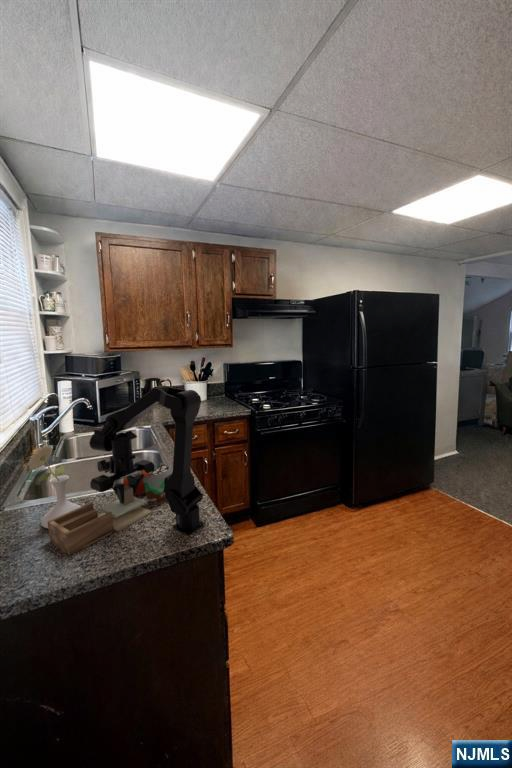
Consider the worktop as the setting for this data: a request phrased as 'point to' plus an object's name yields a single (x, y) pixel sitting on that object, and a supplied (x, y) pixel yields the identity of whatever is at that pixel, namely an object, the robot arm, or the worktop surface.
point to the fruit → (141, 485)
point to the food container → (156, 484)
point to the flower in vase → (57, 482)
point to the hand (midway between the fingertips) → (126, 500)
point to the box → (79, 528)
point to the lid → (124, 507)
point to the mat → (129, 517)
